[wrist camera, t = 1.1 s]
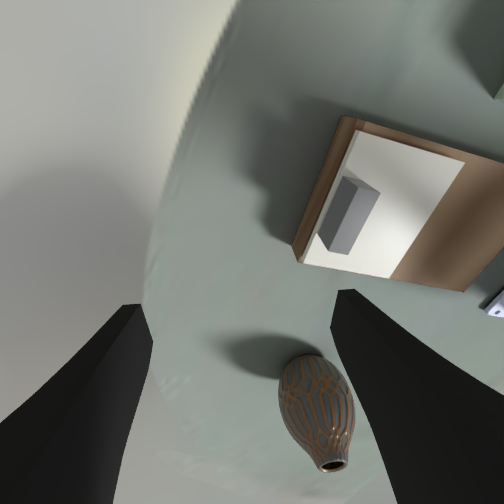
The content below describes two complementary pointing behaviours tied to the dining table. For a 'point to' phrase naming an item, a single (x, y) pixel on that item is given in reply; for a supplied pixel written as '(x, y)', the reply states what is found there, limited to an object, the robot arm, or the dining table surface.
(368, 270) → the cover
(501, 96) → the block
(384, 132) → the wooden tray
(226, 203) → the dining table surface
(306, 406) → the vase
